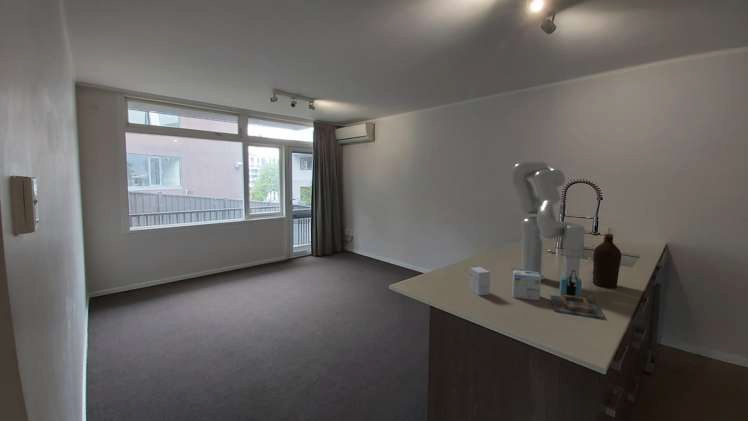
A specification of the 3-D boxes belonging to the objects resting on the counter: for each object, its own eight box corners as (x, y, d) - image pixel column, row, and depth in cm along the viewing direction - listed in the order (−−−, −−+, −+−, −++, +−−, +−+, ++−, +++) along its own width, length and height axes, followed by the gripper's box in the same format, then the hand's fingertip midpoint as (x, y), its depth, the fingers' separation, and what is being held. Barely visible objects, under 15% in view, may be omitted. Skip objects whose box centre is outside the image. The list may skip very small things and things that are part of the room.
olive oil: (624, 289, 145) (629, 236, 142) (601, 289, 145) (605, 236, 142) (607, 281, 155) (611, 232, 152) (586, 281, 155) (590, 232, 152)
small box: (489, 294, 138) (490, 271, 137) (478, 295, 137) (479, 272, 136) (479, 288, 146) (480, 266, 145) (469, 289, 145) (469, 267, 144)
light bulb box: (537, 295, 138) (539, 271, 137) (540, 301, 132) (541, 276, 130) (511, 292, 142) (512, 269, 140) (512, 297, 135) (513, 273, 134)
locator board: (554, 311, 122) (555, 302, 121) (550, 296, 136) (551, 288, 136) (604, 319, 115) (605, 309, 115) (594, 303, 129) (595, 294, 129)
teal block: (560, 294, 139) (561, 279, 138) (559, 291, 143) (560, 276, 142) (580, 297, 135) (581, 281, 135) (578, 293, 139) (579, 278, 139)
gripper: (560, 247, 146) (557, 285, 148) (565, 256, 131) (562, 298, 133) (579, 249, 143) (576, 287, 145) (586, 258, 128) (583, 301, 130)
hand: (569, 292), depth 139 cm, fingers closed on teal block, 4 cm apart
